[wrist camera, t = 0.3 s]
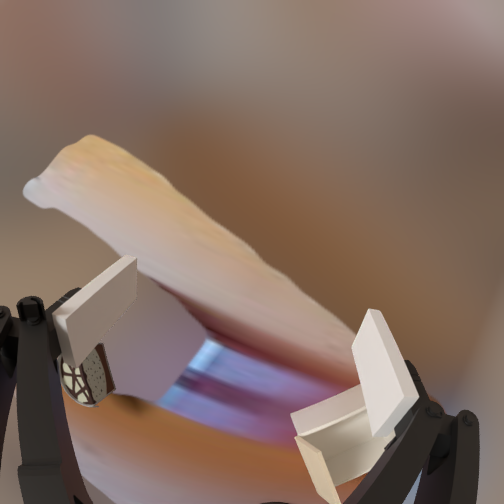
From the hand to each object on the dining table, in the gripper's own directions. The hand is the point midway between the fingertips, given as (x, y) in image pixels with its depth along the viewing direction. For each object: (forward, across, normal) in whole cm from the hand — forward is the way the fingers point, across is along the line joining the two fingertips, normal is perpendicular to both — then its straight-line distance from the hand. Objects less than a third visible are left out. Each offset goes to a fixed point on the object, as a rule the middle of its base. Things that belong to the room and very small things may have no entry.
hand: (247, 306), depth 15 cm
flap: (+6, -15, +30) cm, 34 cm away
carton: (+19, -21, +34) cm, 44 cm away
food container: (+20, +26, +35) cm, 48 cm away
